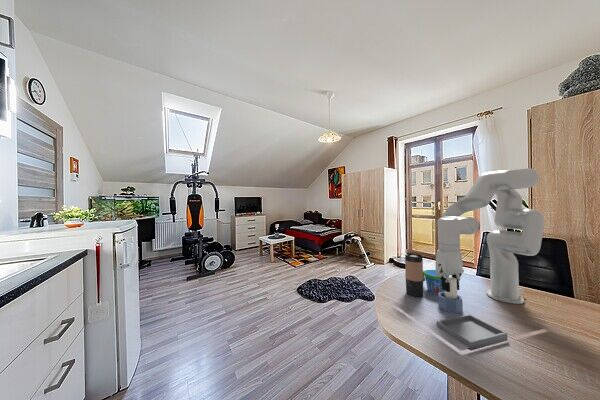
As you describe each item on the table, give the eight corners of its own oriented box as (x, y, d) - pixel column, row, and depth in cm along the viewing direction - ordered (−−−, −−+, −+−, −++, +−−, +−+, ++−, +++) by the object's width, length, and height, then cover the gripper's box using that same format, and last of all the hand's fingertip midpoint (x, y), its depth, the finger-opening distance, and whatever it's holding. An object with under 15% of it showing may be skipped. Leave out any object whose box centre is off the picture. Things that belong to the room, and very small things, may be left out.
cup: (448, 304, 94) (448, 290, 94) (467, 313, 86) (466, 299, 86) (434, 307, 92) (433, 293, 92) (451, 316, 84) (451, 301, 84)
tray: (469, 320, 81) (469, 314, 81) (507, 340, 69) (507, 333, 69) (436, 327, 77) (436, 321, 77) (471, 350, 65) (470, 342, 65)
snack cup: (415, 288, 111) (415, 268, 111) (432, 285, 114) (431, 267, 114) (441, 301, 96) (440, 279, 96) (459, 298, 98) (459, 277, 98)
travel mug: (426, 300, 98) (425, 257, 98) (408, 299, 99) (407, 257, 99) (420, 293, 105) (419, 253, 105) (403, 292, 107) (403, 253, 107)
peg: (450, 301, 92) (449, 276, 92) (460, 305, 87) (459, 279, 87) (442, 302, 90) (441, 277, 90) (452, 307, 86) (451, 281, 86)
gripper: (455, 243, 95) (457, 283, 95) (425, 247, 90) (427, 289, 90) (473, 246, 87) (474, 290, 87) (441, 251, 83) (443, 296, 83)
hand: (450, 289), depth 89 cm, fingers closed on peg, 4 cm apart
